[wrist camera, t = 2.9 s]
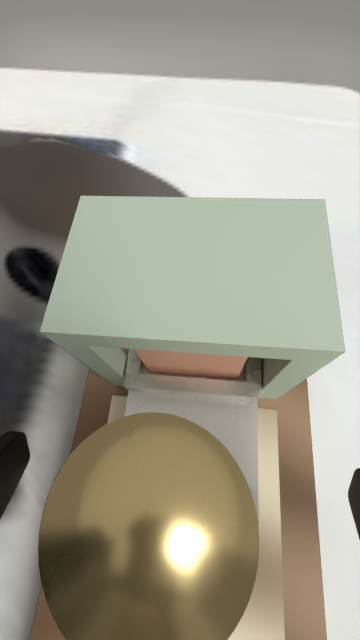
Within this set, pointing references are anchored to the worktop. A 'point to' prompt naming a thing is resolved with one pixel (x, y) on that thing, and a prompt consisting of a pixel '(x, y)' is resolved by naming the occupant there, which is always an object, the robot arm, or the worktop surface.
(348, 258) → the worktop surface
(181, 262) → the tunnel
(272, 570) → the track board
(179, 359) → the terracotta block
